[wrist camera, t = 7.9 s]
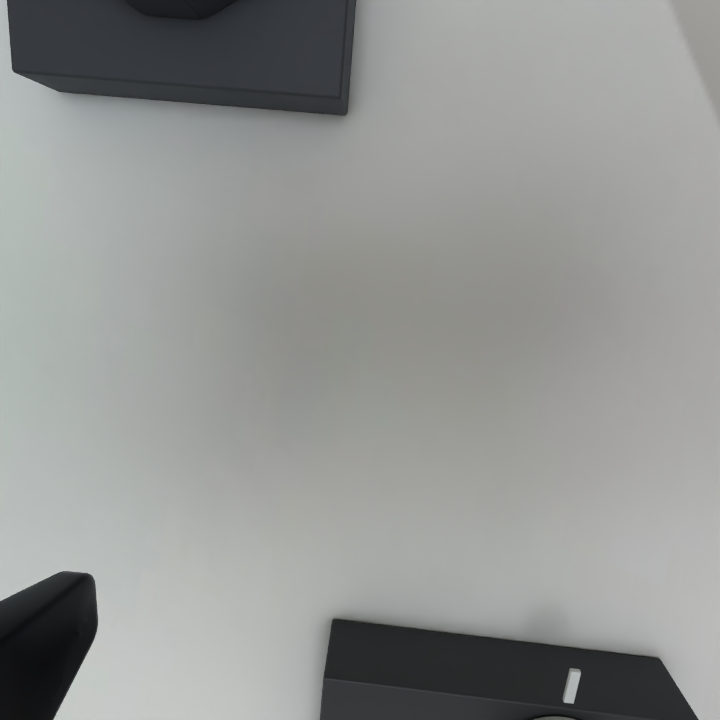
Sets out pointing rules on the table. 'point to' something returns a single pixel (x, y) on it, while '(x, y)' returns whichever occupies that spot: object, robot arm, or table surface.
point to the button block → (190, 50)
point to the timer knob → (554, 718)
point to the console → (486, 679)
